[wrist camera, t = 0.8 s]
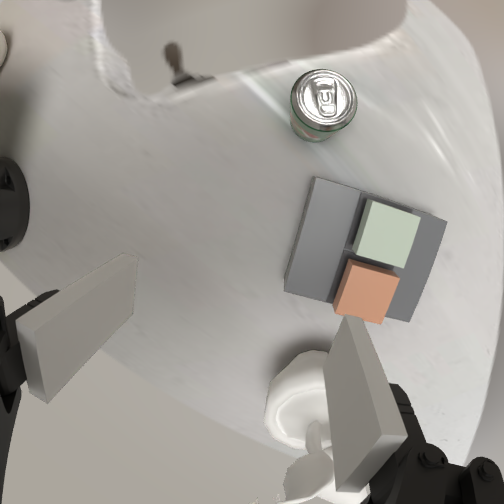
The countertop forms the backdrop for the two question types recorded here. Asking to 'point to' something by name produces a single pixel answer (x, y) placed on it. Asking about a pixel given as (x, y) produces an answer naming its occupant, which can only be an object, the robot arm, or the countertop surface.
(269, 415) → the white floating cup sculpture
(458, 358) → the countertop surface
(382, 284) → the rust key
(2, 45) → the lidded jar
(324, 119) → the soda can
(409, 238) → the sage key
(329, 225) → the button panel
